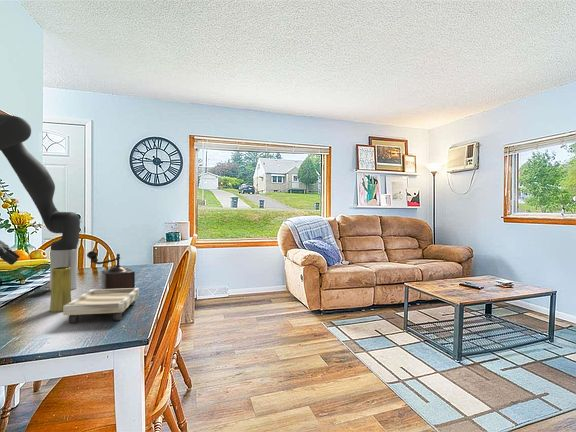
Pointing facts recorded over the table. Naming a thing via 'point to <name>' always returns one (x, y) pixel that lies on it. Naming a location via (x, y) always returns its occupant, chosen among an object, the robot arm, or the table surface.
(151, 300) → the table surface
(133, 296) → the caster dolly
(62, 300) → the vase
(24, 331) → the table surface
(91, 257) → the coffee grinder
